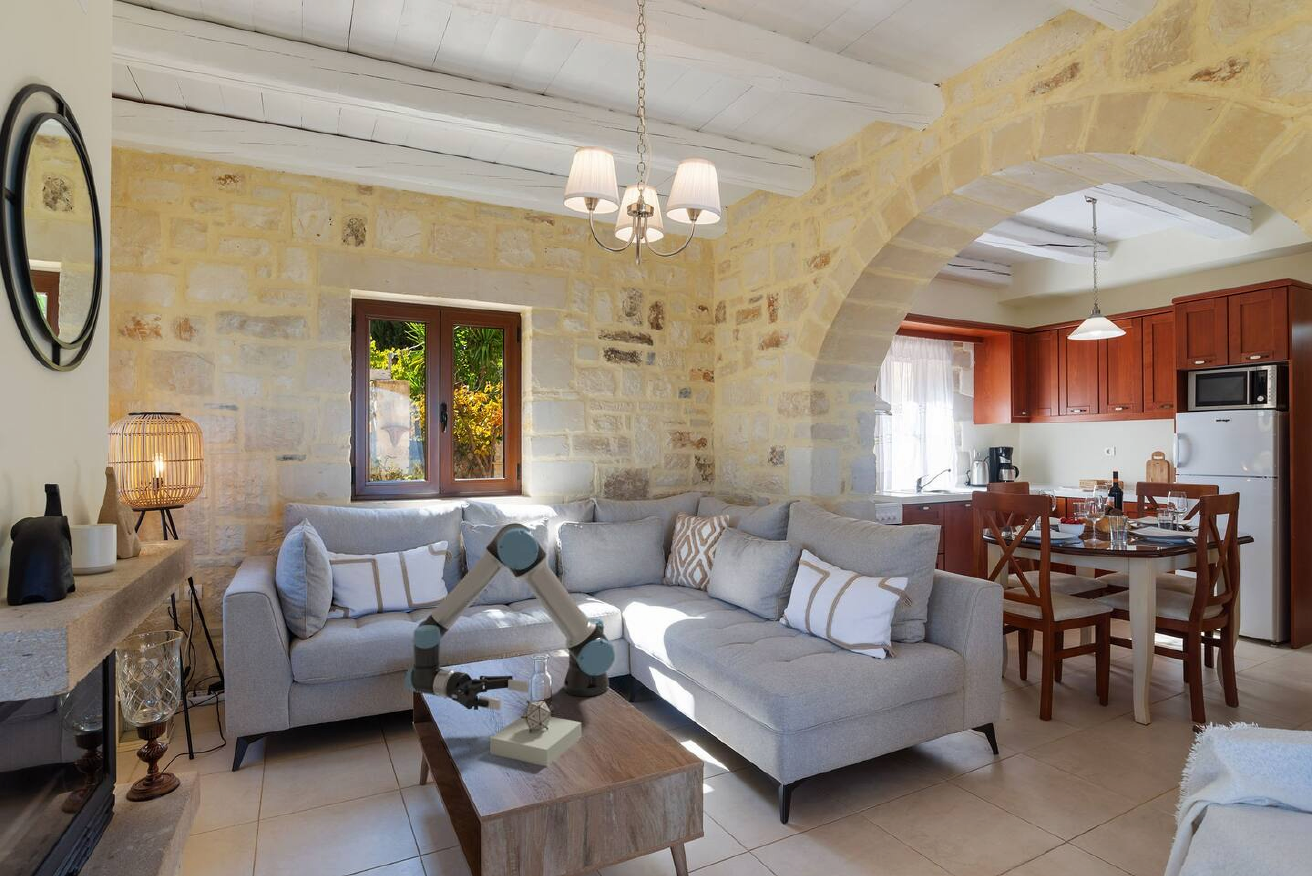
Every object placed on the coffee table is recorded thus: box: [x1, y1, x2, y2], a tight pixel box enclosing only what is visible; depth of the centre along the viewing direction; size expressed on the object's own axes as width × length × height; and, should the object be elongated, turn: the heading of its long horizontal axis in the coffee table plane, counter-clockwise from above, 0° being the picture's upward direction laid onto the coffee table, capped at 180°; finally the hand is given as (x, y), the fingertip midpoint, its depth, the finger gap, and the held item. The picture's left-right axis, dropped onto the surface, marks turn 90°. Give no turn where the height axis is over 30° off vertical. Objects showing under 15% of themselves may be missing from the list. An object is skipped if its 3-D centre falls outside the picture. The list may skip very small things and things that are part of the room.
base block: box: [489, 714, 583, 767], centre depth 194 cm, size 18×18×5 cm
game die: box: [520, 697, 555, 733], centre depth 194 cm, size 9×8×10 cm
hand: (514, 696), depth 196 cm, fingers open, 13 cm apart
